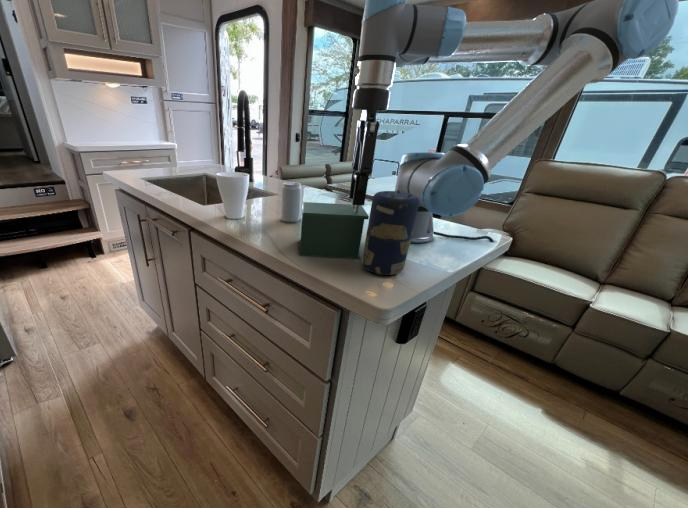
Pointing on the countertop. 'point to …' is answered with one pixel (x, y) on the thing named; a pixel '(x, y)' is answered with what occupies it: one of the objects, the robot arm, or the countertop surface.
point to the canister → (389, 231)
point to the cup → (233, 192)
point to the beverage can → (291, 202)
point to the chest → (331, 236)
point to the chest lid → (334, 210)
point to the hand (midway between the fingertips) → (356, 201)
